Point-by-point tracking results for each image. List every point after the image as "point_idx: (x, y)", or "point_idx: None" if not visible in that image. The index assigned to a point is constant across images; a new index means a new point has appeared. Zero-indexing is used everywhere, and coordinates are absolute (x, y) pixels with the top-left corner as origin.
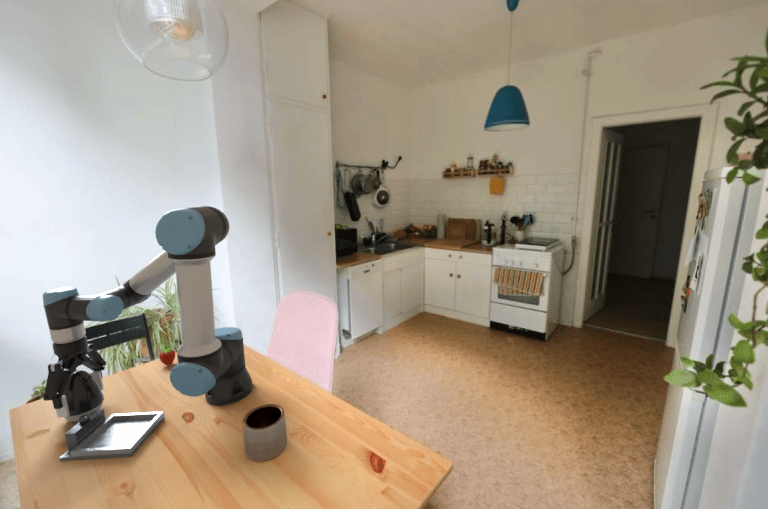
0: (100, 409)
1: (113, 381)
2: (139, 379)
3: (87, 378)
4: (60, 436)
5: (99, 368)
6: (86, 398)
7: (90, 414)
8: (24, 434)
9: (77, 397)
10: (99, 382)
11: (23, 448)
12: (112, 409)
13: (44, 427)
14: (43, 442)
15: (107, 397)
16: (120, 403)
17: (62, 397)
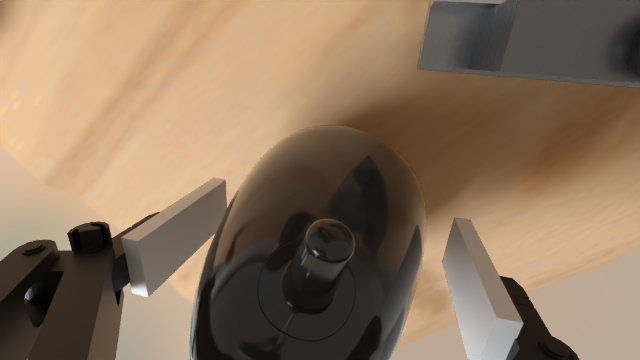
0: (517, 17)
1: (116, 205)
2: (88, 101)
3: (351, 253)
4: (480, 205)
5: (99, 255)
6: (390, 182)
7: (573, 58)
8: (417, 328)
9: (413, 235)
10: (196, 207)
11: None
12: (314, 87)
13: None
14: (502, 247)
15: (219, 167)
16: (268, 76)
17: (516, 325)
